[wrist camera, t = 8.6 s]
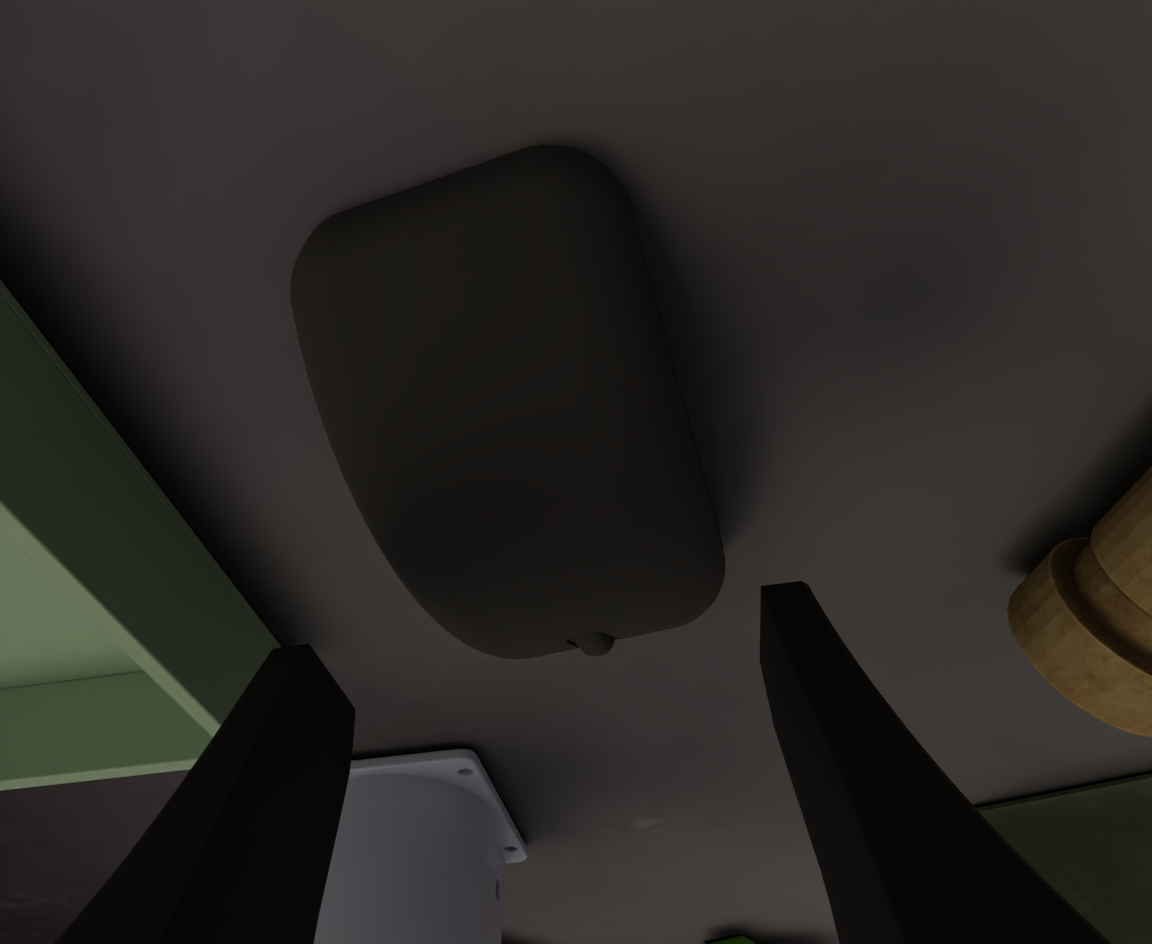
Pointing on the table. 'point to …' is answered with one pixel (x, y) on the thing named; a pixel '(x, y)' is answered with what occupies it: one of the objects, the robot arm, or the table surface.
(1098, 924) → the handheld radio
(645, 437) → the computer mouse
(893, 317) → the table surface
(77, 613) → the storage box
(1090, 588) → the gavel
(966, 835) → the robot arm
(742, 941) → the toy measuring tape
